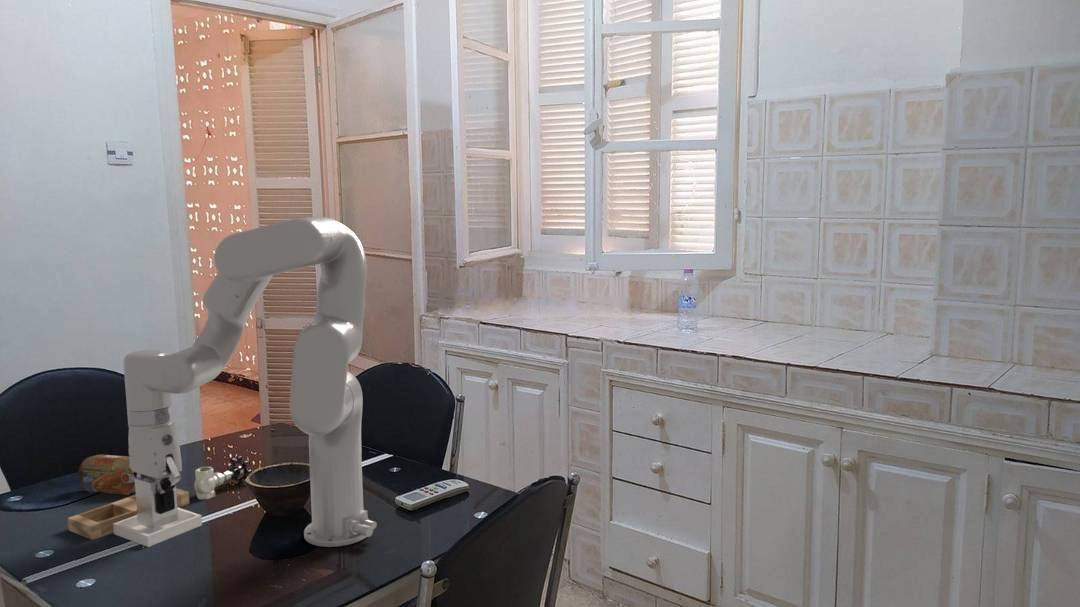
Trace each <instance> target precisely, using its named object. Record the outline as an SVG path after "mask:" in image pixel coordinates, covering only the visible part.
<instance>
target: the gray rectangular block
mask: <svg viewBox="0 0 1080 607" xmlns="http://www.w3.org/2000/svg"><path fill="white" fill-rule="evenodd" d="M166 474H167V473H166V472H163V475H166ZM166 481H167V478H165V479H162V482H163V484H164V483H165V482H166ZM176 488H177V484H176V485H175V489H174V501H175V508H174V509H173V510H171V511H168V512H165V513H163V514H159V513H158V512H157V498H156V494H157V493H159V492H158V488H157V484H156V480H155V478H153V477H149V476H146V475H144V476H141V477H138V478H135V492H134V493H135V495H136V505H137V518H138V524H140V525H142V526H145V527H148V528H151V529H156V528H159V527H161V526H164V525H167V524H169V523H172V522H174V521H177V520H178V510H177V496H176Z"/></svg>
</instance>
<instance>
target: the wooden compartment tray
mask: <svg viewBox="0 0 1080 607" xmlns="http://www.w3.org/2000/svg"><path fill="white" fill-rule="evenodd" d="M189 494H190V492H189V491H187V490H184V489H182V488H177V487H176V496H177V507H178V508H181V507H183V506H186V505H189V504H190V495H189ZM135 515H137V505H136V494H134V495H131V496H128V497H124V498H122V499H119V500H116V501H114V502H111V503H107V504H104V505H101V506H99V507H95V508H93V509H90V510H86V511H84V512H81V513H78V514H75V515H73V516H70V517H67V525H68V526H67V527H68V531H69V532H70V533H71V532H72V533H74V534H76V535H78V536H81V537H84V538H87V539H89V540H95V539H98V538H100V537H104V536H106V535H109V534H111V533H114V530H113V523H116V522H119V521H122V520H124V519H127V518H130V517H133V516H135Z"/></svg>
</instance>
